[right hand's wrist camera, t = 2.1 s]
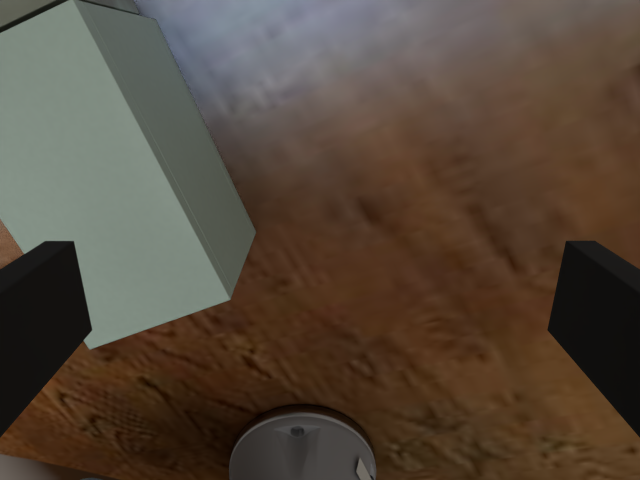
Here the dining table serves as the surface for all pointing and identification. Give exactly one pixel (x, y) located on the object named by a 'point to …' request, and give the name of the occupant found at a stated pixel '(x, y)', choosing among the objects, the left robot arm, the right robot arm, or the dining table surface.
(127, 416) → the dining table surface
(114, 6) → the drawer
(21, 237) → the cabinet
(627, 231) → the dining table surface
